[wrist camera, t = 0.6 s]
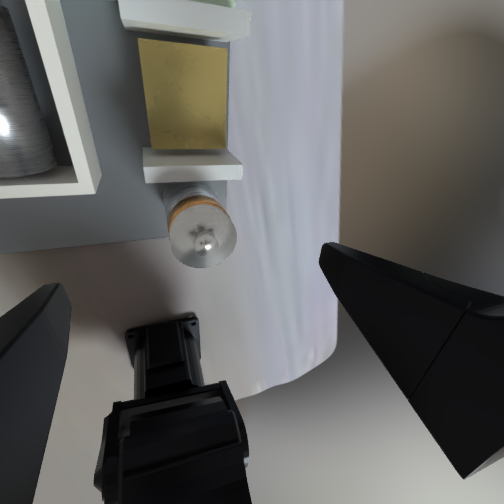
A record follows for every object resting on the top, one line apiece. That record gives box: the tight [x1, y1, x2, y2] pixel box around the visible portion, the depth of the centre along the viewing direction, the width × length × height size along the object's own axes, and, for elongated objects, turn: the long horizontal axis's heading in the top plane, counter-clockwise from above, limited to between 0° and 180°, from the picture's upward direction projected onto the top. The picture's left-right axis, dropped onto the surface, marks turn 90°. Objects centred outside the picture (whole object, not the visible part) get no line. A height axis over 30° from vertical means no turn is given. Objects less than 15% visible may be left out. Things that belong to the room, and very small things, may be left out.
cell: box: [163, 181, 237, 268], centre depth 16 cm, size 3×3×6 cm
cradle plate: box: [138, 38, 227, 149], centre depth 14 cm, size 5×4×1 cm
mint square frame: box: [0, 0, 251, 254], centre depth 12 cm, size 19×14×5 cm
